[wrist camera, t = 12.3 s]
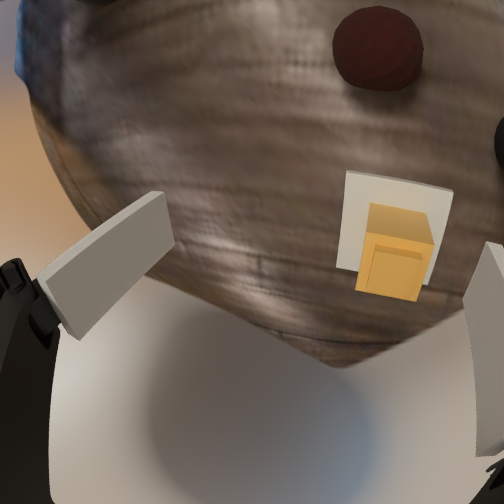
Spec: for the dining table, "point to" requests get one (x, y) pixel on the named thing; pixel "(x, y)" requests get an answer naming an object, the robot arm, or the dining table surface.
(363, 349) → the dining table surface
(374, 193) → the post plate
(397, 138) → the dining table surface
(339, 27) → the potato
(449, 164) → the dining table surface
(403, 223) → the orange block
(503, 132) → the wine bottle
